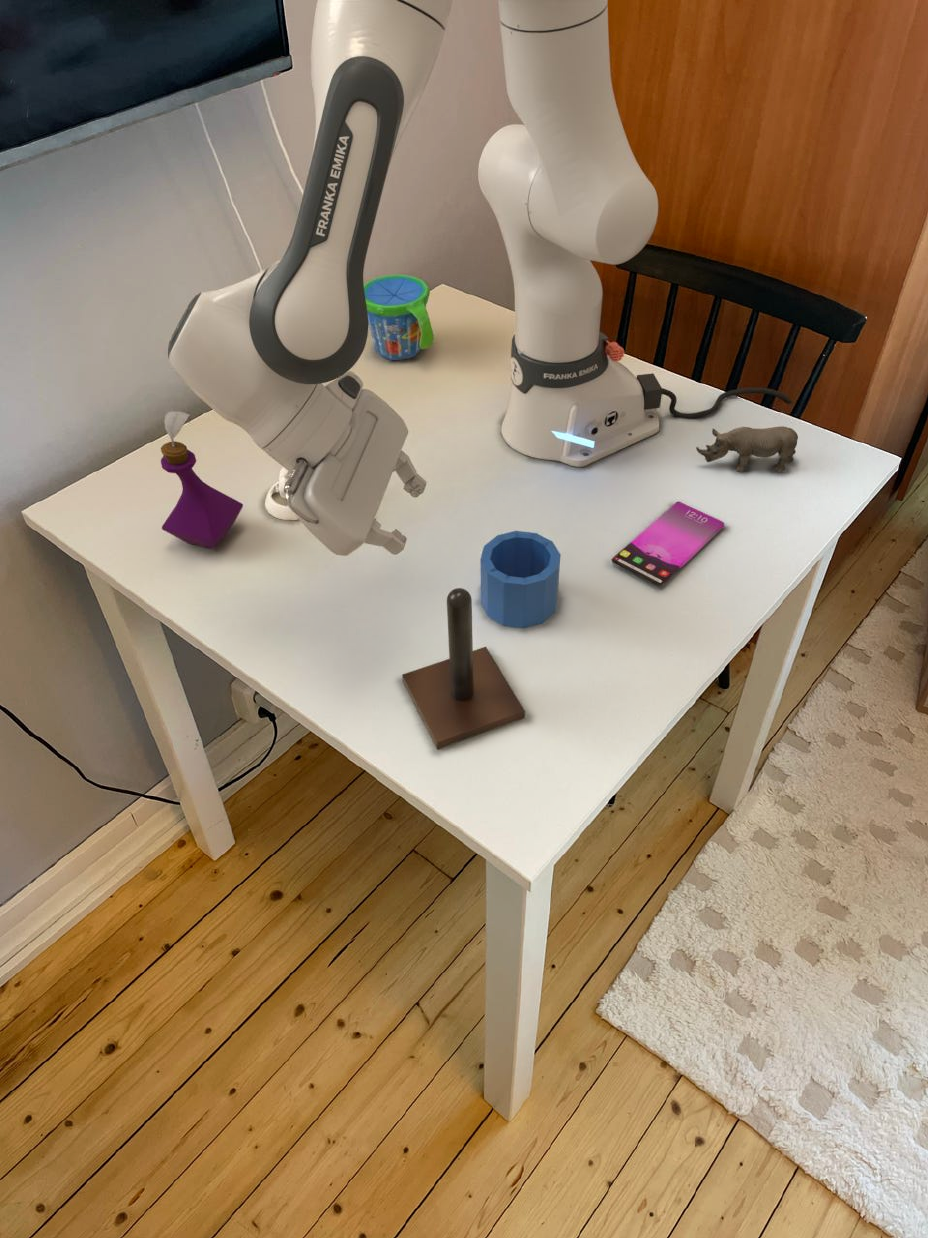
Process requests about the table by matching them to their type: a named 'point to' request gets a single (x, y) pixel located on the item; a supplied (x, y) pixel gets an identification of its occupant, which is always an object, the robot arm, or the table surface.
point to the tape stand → (462, 684)
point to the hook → (278, 509)
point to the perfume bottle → (194, 495)
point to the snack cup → (398, 315)
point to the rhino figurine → (754, 445)
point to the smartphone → (668, 543)
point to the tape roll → (519, 579)
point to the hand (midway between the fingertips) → (412, 518)
